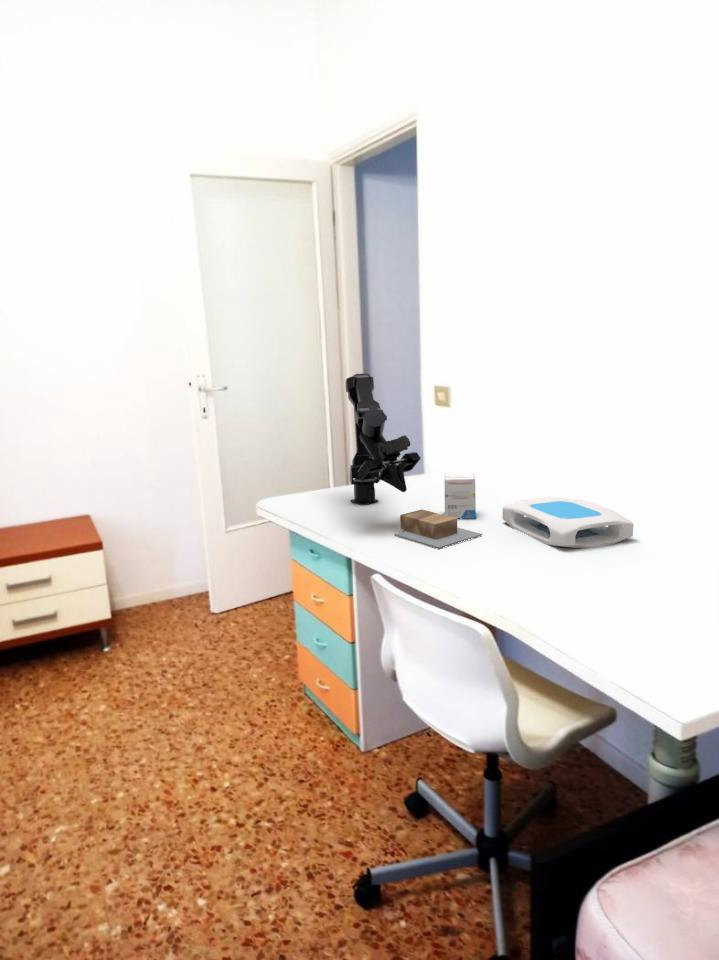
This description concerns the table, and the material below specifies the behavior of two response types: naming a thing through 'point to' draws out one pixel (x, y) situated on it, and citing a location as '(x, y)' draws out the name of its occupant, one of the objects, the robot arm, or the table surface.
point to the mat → (440, 542)
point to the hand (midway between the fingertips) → (404, 491)
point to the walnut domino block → (428, 524)
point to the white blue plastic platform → (567, 521)
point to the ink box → (460, 495)
